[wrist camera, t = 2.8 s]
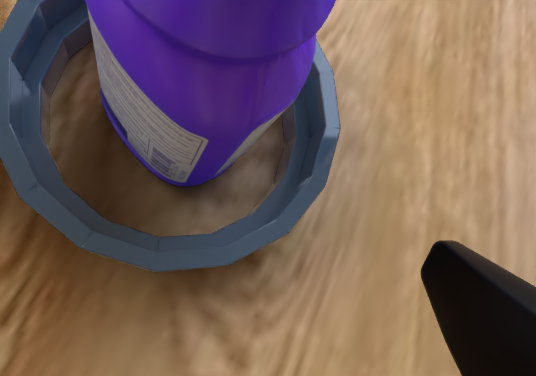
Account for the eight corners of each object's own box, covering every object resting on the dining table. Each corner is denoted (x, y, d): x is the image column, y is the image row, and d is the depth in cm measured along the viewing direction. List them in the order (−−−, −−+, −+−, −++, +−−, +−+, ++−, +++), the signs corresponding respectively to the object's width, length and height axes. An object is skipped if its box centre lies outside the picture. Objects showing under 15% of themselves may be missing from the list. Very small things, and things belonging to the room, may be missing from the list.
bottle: (260, 150, 23) (566, -156, 7) (173, 214, 21) (306, 4, 5) (176, 41, 23) (278, -550, 6) (81, 96, 21) (-118, -552, 4)
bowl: (355, 126, 25) (392, 101, 21) (186, 335, 20) (197, 348, 17) (165, -55, 24) (170, -113, 20) (-66, 122, 19) (-112, 86, 15)
